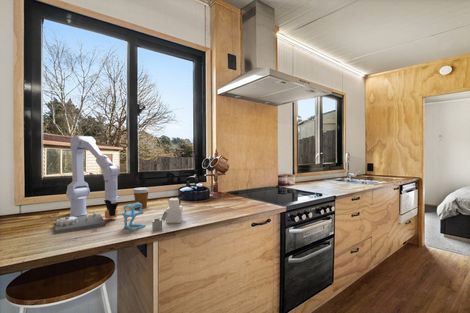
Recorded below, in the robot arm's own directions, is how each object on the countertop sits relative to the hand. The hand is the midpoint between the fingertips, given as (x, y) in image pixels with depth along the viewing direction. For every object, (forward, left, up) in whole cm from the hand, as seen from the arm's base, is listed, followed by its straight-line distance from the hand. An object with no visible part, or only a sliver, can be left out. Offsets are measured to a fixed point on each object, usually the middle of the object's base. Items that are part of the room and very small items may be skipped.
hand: (111, 214), depth 123 cm
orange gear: (0, 0, -1) cm, 1 cm away
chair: (+19, +7, -3) cm, 20 cm away
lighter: (+28, +17, -3) cm, 33 cm away
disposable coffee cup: (-18, +20, -3) cm, 27 cm away
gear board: (0, -13, -3) cm, 14 cm away
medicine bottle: (+20, +27, -3) cm, 33 cm away
